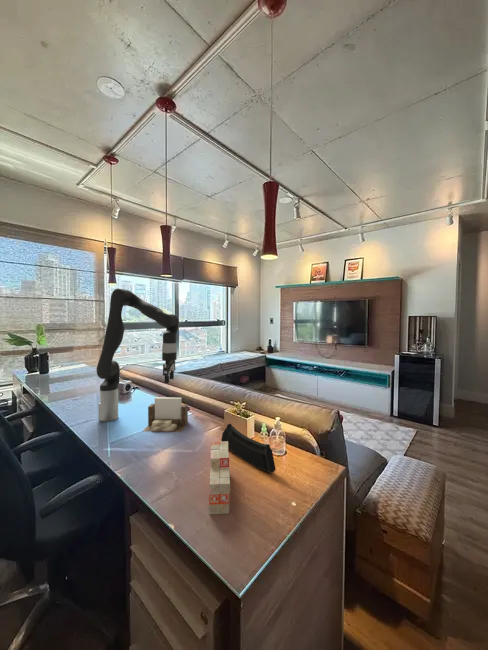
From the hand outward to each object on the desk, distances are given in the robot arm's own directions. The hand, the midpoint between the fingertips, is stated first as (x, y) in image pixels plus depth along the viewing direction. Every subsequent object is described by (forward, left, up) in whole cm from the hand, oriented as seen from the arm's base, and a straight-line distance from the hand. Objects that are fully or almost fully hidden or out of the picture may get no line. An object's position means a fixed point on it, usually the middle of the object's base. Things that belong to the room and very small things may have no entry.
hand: (169, 381), depth 145 cm
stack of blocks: (+35, -54, -24) cm, 69 cm away
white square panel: (0, -1, -23) cm, 23 cm away
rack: (0, -4, -24) cm, 24 cm away
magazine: (+43, -33, -24) cm, 59 cm away
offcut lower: (0, -8, -23) cm, 24 cm away
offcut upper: (-1, -8, -21) cm, 22 cm away
